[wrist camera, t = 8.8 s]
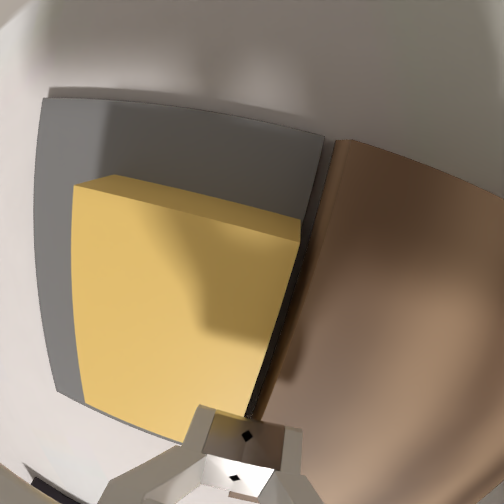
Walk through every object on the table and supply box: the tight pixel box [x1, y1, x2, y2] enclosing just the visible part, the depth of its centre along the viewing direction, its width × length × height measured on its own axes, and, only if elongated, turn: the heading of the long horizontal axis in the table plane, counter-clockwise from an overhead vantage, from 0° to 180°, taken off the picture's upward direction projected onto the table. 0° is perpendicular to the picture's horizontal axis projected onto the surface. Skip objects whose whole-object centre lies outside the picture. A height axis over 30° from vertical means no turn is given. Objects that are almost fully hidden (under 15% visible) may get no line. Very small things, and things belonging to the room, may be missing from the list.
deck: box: [228, 139, 504, 504], centre depth 11 cm, size 16×16×4 cm
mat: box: [33, 98, 325, 445], centre depth 13 cm, size 12×17×1 cm
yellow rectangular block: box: [71, 174, 301, 443], centre depth 12 cm, size 7×10×2 cm
